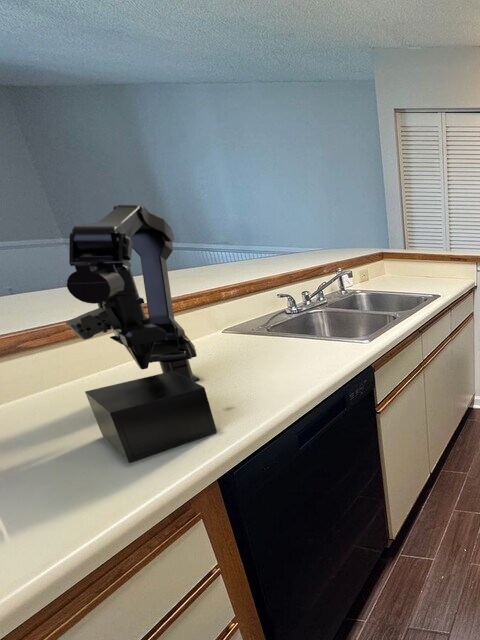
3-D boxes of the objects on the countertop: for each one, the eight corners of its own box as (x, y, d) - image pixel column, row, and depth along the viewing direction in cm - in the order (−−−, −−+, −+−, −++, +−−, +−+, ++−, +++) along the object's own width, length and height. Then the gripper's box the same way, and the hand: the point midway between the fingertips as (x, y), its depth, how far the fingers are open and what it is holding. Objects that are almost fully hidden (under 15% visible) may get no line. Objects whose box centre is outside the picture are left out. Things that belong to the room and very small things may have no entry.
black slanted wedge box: (103, 437, 80) (84, 391, 76) (186, 412, 90) (173, 370, 86) (129, 463, 72) (109, 413, 68) (217, 432, 82) (204, 387, 79)
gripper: (49, 294, 81) (79, 369, 87) (75, 306, 71) (107, 391, 77) (123, 286, 90) (146, 356, 96) (155, 297, 80) (179, 374, 86)
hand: (144, 368), depth 88 cm, fingers closed
